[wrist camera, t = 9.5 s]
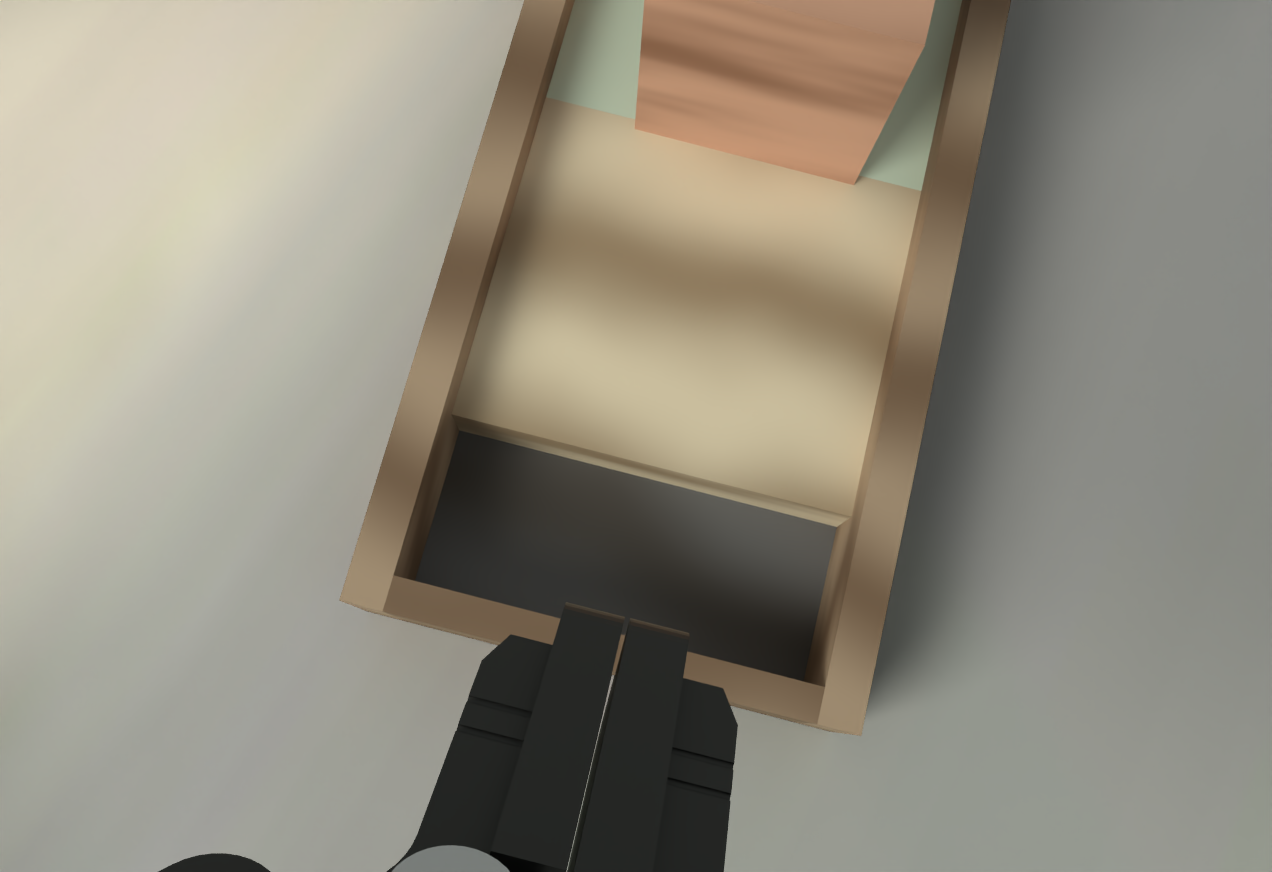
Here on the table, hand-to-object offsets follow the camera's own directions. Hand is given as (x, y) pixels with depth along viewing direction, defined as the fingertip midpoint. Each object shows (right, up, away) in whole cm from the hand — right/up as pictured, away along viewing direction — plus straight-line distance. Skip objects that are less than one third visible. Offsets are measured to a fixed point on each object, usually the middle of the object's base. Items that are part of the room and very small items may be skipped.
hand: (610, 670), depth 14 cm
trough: (+3, +11, +25) cm, 28 cm away
